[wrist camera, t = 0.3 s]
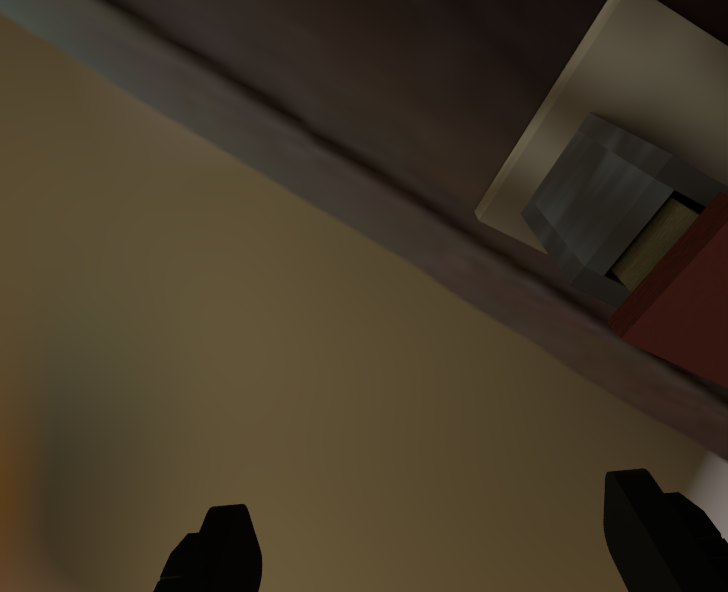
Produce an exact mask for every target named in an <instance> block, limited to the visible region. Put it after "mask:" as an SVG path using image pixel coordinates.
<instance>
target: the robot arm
mask: <svg viewBox="0 0 728 592" xmlns="http://www.w3.org/2000/svg"><path fill="white" fill-rule="evenodd" d="M603 522H604V523H603V525H604V533H605V538H606V542H607V546H608V549H609V551H610V554H611V556H612V558H613V560H614V562H615V564H616V567H617V569H618V571H619V573H620V575H621V577H622V579H623V581H624V583H625V585H626V587H627V589H628V591H629V592H728V543H727V541H726V540H725V539H723V538H722V537H721V533H720V532H719V531H718V529H717V528H716V527H715V525H714V524H713V523H712V521H711V520H710V519H709V517H708V516H707V515H706V513H705V512H704V511H703V510H702V509H701V508H699V507H698V506H697V505H695V504H694V503H692V502H691V501H690V500H688V499H687V498H686V497H684V496H683V495H682V494H680V493H679V492H675V493H663V492H662V490H661V489H660V487H659V486H658V484H657V483H656V482H655V480H654V479H653V477H652V476H651V475H650V473H649V472H648V471H647V470H646V469H633V470H622V471H611V472H607V473H606V477H605V497H604V521H603ZM261 577H262V555H261V550H260V547H259V543H258V540H257V537H256V534H255V531H254V528H253V524H252V521H251V518H250V515H249V512H248V509H247V507H246V505H244V504H238V505H226V506H215V507H211V508H210V509H209V510H208V512H207V514H206V517H205V519H204V522H203V524H202V527H201V529H200V531H199V533H188V534H187V535H186V536H185V538H184V539H183V540H182V541H181V542H180V543H179V545H178V546H177V547H176V548H175V549H174V550H173V551H172V553H171V554H170V556H169V558H168V560H167V562H166V565H165V567H164V569H163V571H162V574H161V576H160V581H158V583H157V585H156V587H155V589H154V591H153V592H258V591H259V587H260V582H261Z"/></svg>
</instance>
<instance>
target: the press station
mask: <svg viewBox="0 0 728 592" xmlns="http://www.w3.org/2000/svg"><path fill="white" fill-rule="evenodd" d="M720 191H721V192H723V193H724V194H726V195H728V46H726V45H725V44H723V43H722V42H720V41H719V40H717V39H716V38H714V37H713V36H711V35H710V34H708V33H706V32H705V31H703V30H702V29H700V28H699V27H697V26H696V25H694V24H693V23H691V22H689V21H688V20H686V19H685V18H683V17H682V16H680V15H679V14H677V13H676V12H674V11H673V10H671V9H669V8H668V7H666V6H665V5H663V4H662V3H660V2H659V1H657V0H607V2H606V4H605V5H604V7H603V8H602V10H601V12H600V13H599V15H598V16H597V18H596V19H595V21H594V23H593V24H592V26H591V27H590V29H589V31H588V32H587V34H586V35H585V37H584V38H583V40H582V42H581V43H580V45H579V46H578V48H577V50H576V51H575V53H574V54H573V56H572V57H571V59H570V61H569V62H568V64H567V65H566V67H565V69H564V70H563V72H562V73H561V75H560V76H559V78H558V80H557V81H556V83H555V84H554V86H553V88H552V89H551V91H550V92H549V94H548V95H547V97H546V99H545V100H544V102H543V103H542V105H541V107H540V108H539V110H538V111H537V113H536V114H535V116H534V118H533V119H532V121H531V122H530V124H529V126H528V127H527V129H526V130H525V132H524V133H523V135H522V137H521V138H520V140H519V141H518V143H517V145H516V146H515V148H514V149H513V151H512V152H511V154H510V156H509V157H508V159H507V160H506V162H505V164H504V165H503V167H502V168H501V170H500V171H499V173H498V175H497V176H496V178H495V179H494V181H493V183H492V184H491V186H490V187H489V189H488V191H487V192H486V194H485V195H484V197H483V198H482V200H481V202H480V203H479V205H478V206H477V208H476V210H475V211H474V212H475V214H476V216H477V218H478V220H479V221H481V222H483V223H485V224H487V225H489V226H491V227H493V228H495V229H497V230H499V231H501V232H503V233H505V234H507V235H509V236H511V237H513V238H515V239H518V240H520V241H522V242H524V243H526V244H528V245H530V246H532V247H534V248H536V249H538V250H540V251H542V252H544V253H546V254H548V255H549V256H550V258H551V259H552V260H553V262H554V263H555V265H556V266H557V268H558V269H559V271H560V272H561V273H562V275H563V276H564V278H565V279H566V281H567V282H568V284H569V285H570V286H572V287H574V288H577V289H579V290H581V291H583V292H585V293H587V294H589V295H591V296H593V297H595V298H597V299H599V300H602V301H604V302H606V303H608V304H610V305H612V306H614V307H616V308H619V307H620V306H621V305H622V303H623V302H624V301H625V300H626V299H627V298H628V297H629V295H630V294H631V292H630V291H629V290H628V289H627V287H626V286H625V285H624V284H623V283H622V282H621V281H620V279H619V278H618V277H617V276H616V275H615V274H614V273H613V272H612V270H611V269H610V267H611V266H612V265H613V264H614V263H615V261H616V260H617V259H618V258H619V257H620V255H621V254H622V253H623V252H624V250H625V249H626V248H627V247H628V246H629V244H630V243H631V242H632V241H633V240H634V238H635V237H636V236H637V235H638V233H639V232H640V231H641V230H642V229H643V227H644V226H645V225H646V224H647V223H648V221H649V220H650V219H651V218H652V216H653V215H654V214H655V213H656V212H657V210H658V209H659V208H660V207H661V206H662V204H663V203H664V202H665V201H666V199H667V198H668V197H669V196H670V195H671V194H672V195H674V196H675V197H677V198H679V199H681V200H683V201H685V202H686V203H688V204H690V205H692V206H694V207H695V208H697V209H699V210H701V211H704V209H705V208H706V207H707V206H708V205H709V204H710V203H711V201H712V200H713V199H714V198H715V197H716V196H717V195H718V193H719V192H720Z"/></svg>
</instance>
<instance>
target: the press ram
mask: <svg viewBox="0 0 728 592" xmlns="http://www.w3.org/2000/svg"><path fill="white" fill-rule="evenodd" d="M610 269H611V270H612V272H613V273H614V274H615V275H616V276H617V277H618V278H619V279H620V281H621V282H622V283H623V284H624V285H625V286H626V287H627V289H628V290H629V291H630V292H631V294H630V295H629V297H628V298H627V299H626V300H625V301H624V302H623V303H622V305H621V306H620V307H619V308H618V309H617V310H616V311H615V313H614V314H613V315H612V316H611V317H610V318H609V319H608V322H609V323H610V324H611V326H612V327H613V328H614V330H615V331H616V333H617V334H618V335H619V337H620V338H621V339H623V340H625V341H627V342H629V343H631V344H633V345H636V346H638V347H640V348H642V349H644V350H646V351H649V352H651V353H653V354H655V355H657V356H659V357H661V358H664V359H666V360H668V361H670V362H672V363H674V364H676V365H679V366H681V367H683V368H685V369H687V370H689V371H692V372H694V373H696V374H698V375H700V376H702V377H704V378H707V379H709V380H711V381H713V382H715V383H717V384H719V385H722V386H724V387H726V388H728V195H726V194H724V193H723V192H721V191H720V192H719V193H718V195H717V196H716V197H715V198H714V199H713V200H712V201H711V203H710V204H709V205H708V206H707V207H706V208H705V209H704V211H701V210H699V209H697V208H695V207H694V206H692V205H690V204H688V203H686V202H685V201H683V200H681V199H679V198H677V197H675V196H674V195H672V194H671V195H670V196H669V197H668V198H667V199H666V201H665V202H664V203H663V204H662V206H661V207H660V208H659V209H658V210H657V212H656V213H655V214H654V215H653V216H652V218H651V219H650V220H649V221H648V223H647V224H646V225H645V226H644V227H643V229H642V230H641V231H640V232H639V233H638V235H637V236H636V237H635V238H634V240H633V241H632V242H631V243H630V244H629V246H628V247H627V248H626V249H625V250H624V252H623V253H622V254H621V255H620V257H619V258H618V259H617V260H616V261H615V263H614V264H613V265H612V266H611V267H610Z"/></svg>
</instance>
